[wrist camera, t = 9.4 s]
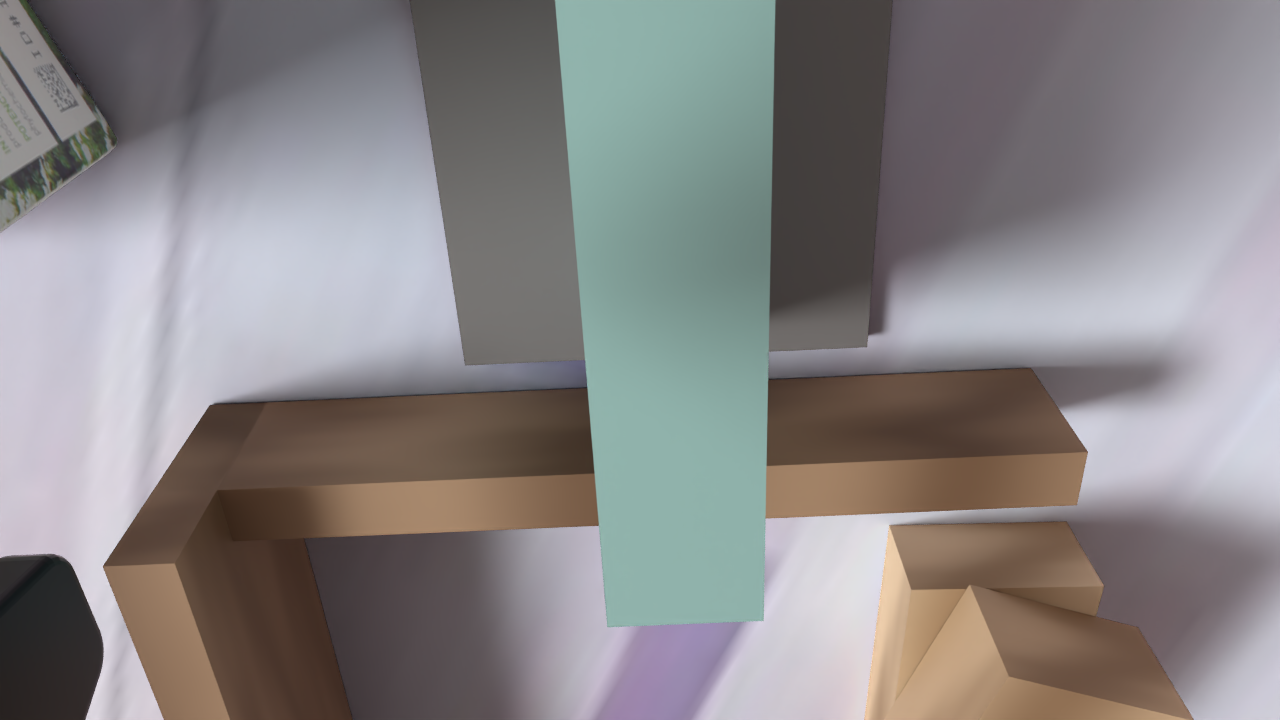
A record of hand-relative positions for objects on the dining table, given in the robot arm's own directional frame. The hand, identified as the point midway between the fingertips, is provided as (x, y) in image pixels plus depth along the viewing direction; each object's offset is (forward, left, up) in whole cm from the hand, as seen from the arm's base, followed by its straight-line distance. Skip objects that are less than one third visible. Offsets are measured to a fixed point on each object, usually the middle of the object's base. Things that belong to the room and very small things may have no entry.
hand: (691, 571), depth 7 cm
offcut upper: (-7, +14, -10) cm, 18 cm away
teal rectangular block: (0, 0, -12) cm, 12 cm away
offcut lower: (-7, +14, -13) cm, 20 cm away
